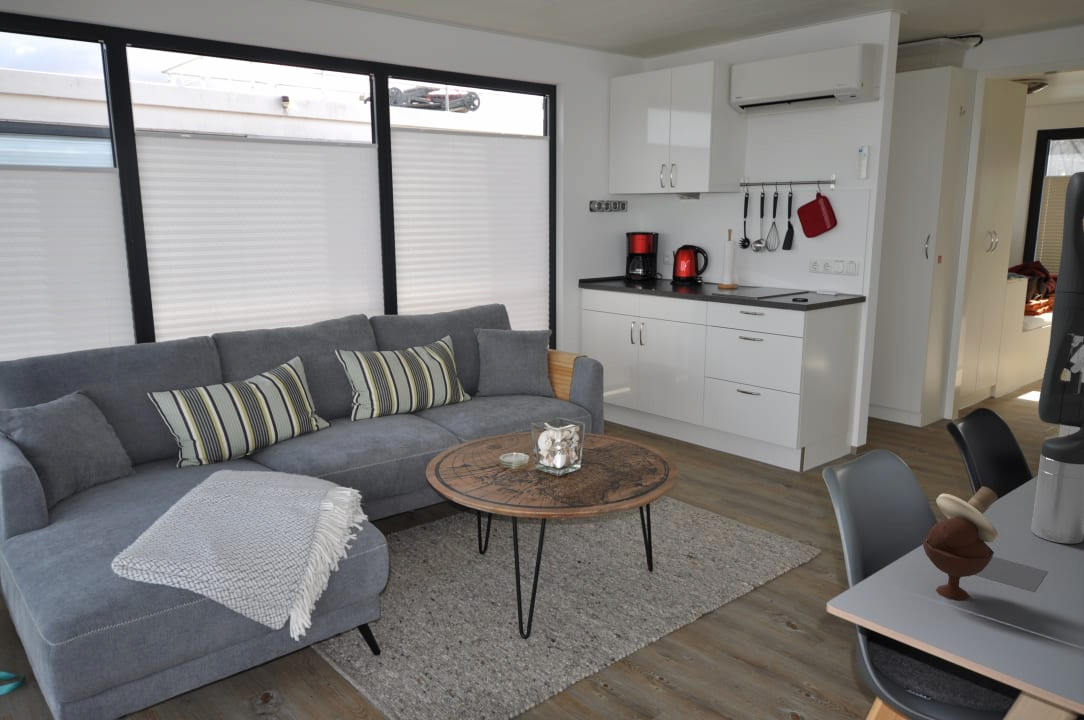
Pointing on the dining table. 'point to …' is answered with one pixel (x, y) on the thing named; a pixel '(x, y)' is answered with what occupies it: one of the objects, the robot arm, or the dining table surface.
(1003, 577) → the mat
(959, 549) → the ice cream bowl
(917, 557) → the dining table surface
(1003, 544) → the dining table surface
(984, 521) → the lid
